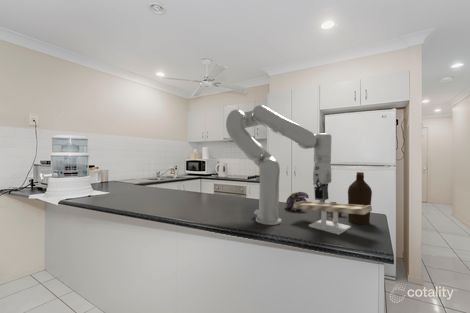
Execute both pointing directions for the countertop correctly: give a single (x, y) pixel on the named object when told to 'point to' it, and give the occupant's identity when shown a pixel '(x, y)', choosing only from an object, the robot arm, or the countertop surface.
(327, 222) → the trestle
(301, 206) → the beam
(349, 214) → the olive oil
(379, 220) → the countertop surface
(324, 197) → the iron weight
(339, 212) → the pottery mug
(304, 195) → the decorative flower
